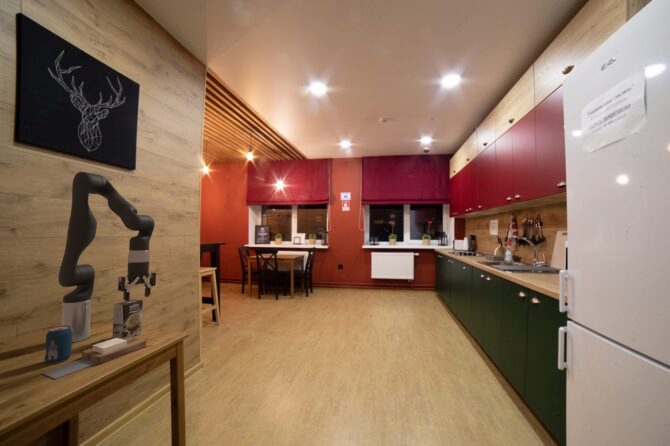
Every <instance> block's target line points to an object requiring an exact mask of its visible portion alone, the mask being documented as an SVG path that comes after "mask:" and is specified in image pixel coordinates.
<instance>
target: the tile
mask: <svg viewBox="0 0 670 446" xmlns="http://www.w3.org/2000/svg"><path fill="white" fill-rule="evenodd" d="M124 346H127V341H126V340H123V339H119V338H114V339H112V338H110V339H108V340H105V341H102V342H98V343H96V344H93V345H92V348H93V351H96V352H99V353H102V354H104V353H107V352H110V351H113V350H116V349H119V348H122V347H124Z"/></svg>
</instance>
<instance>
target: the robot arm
mask: <svg viewBox="0 0 670 446" xmlns="http://www.w3.org/2000/svg"><path fill="white" fill-rule="evenodd" d="M71 187H72V188H71V207H70V208H71V209H70V215H69V222H68V227H67V235H66V242H65V248H64V254H63V257H62V260H61V265H60V267H59V270H58V283H59V285H60V286H61V287H63V288H71V287H75V289H73V290H72V291H71V292H69V293H67V294H64V296H63V297H62V311H61V314H62V315H61V326H71V327H70V328H71V329H72V330H73V331H72V343H76V342H77V343H78V342H81V341H84V340H87V339H88V338H89V337H90V332H91V331H90V329H91V314H92V312H91V311H92V296H93V293H94V286H95V281H96V280H95V279H96V271H95V268H94V267H93V265H92V264H87V263H85V264H78V262H79V259H80V257H81V256H82V254H83V252H85V250H86V249H87V248H88V247H89V246H90V245H91V244H92V243H93V241H94V239H95V238H96V236H97V227H98V222H97V219H96V217H95V216H94V213H93V211H92V209H91V207H90V205H89V196H90V195H99V196H101V197H102V198H104V199H106V201H107V205H108V208H109V209H110V210H111V212H113V213H114V214H115V215H116V216H117V217H118V218H119V219H120V220H121V221H122V223H123V225H124V226H125V228H126V229H128V230H130V231H133V232H136V231H137V232H138V233H137V235H135V236H132V237H130V239H129V243H128V244H129V246H128V255H127V275H126V276H125V275H124V276H118V281H117V283H118V284H117V291H118V292H122V293H123V295H122V296H123V298H122V299H123V300H124V302H125V301H129V300H131V298H130V297H131V296H130V295H131V292H130V291H131V289H133V287H134V286H137V285H141V284H142V285H143V286H144V287H145V288H144V297H146V298H149V297H150V296H151V294H152V293H151V290H152V289H151V288H153V287H155V286H156V285H157V283H156V282H157V273H156V272H149V270H150V258H151V257H150V242H151V241H150V240H151V237H152V235H153V232H154V230H155V227H156V226H155V225H156V223H155V219H154V218H153V217H152V216H151V215H147V214H138V210H137V208H136V207H135V206H134V205H133V204H132V203H130V202H129V201H128V200H127V199H126V198H124V197H123V196H122V195H121V194H120V193H119V191H118V190H117V189H116V188H115V187H114V186H113V184H112V183H111V181H110V180H108V179H107V178H106V177H105V176H104V175H101V174H98V173H92V172H88V171H87V172H86V171H78V172H77V173H76V174H75V175H74V177H73V179H72V186H71ZM148 278H149V279H148Z"/></svg>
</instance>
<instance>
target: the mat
mask: <svg viewBox="0 0 670 446" xmlns="http://www.w3.org/2000/svg"><path fill="white" fill-rule="evenodd" d="M95 365H99V364H98V363H97V362H94V361H91V360H88V359H86V358H80V359H78V360H75V361H72V362H69V363H65V364H63V365H61V366H57V367H55V368H52V369H48V370H45V371H43V372H41V374H42V375H44V376H47V377H48V378H50V379H53V380H54V381H55V380H58V379H60V378H64V377H66V376H68V375H72V374H74V373H78V372H80V371H82V370H84V369H87V368H90V367H92V366H95Z"/></svg>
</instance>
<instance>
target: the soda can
mask: <svg viewBox="0 0 670 446" xmlns="http://www.w3.org/2000/svg"><path fill="white" fill-rule="evenodd" d="M70 327H71V326H62V325H60V326H54V327H51V328H49V329H48V332H47V333H46V334H45V346H44V347H45V348H44V349H45V350H44V362H46V364H48V365H55V364H60V363H62V362H65V361H67V360H69V358H71V355H72V350H73V342H72V331H73V330H72V329H71V328H70Z"/></svg>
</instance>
